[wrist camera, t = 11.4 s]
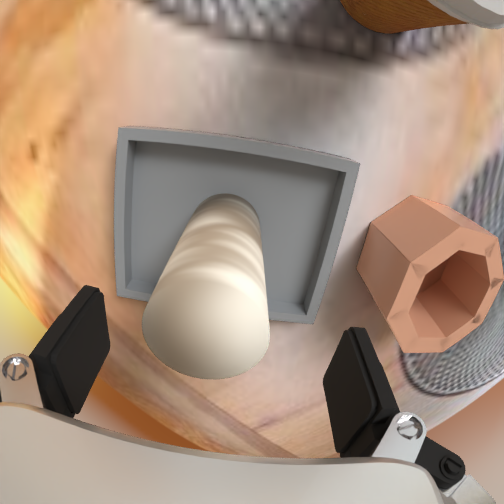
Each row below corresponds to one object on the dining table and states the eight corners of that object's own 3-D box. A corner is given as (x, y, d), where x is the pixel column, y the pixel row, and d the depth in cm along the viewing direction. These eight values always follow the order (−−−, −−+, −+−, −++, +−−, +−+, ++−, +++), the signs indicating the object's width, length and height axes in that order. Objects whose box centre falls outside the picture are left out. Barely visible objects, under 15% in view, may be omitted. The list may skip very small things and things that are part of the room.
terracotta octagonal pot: (469, 213, 22) (518, 244, 16) (432, 306, 27) (465, 351, 20) (380, 186, 22) (426, 216, 15) (345, 298, 26) (370, 352, 19)
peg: (265, 199, 21) (282, 291, 11) (253, 262, 24) (257, 385, 13) (194, 189, 21) (139, 270, 10) (188, 253, 23) (145, 369, 12)
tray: (350, 158, 21) (360, 163, 19) (308, 308, 26) (313, 324, 24) (130, 125, 20) (118, 127, 18) (125, 282, 25) (116, 296, 23)
